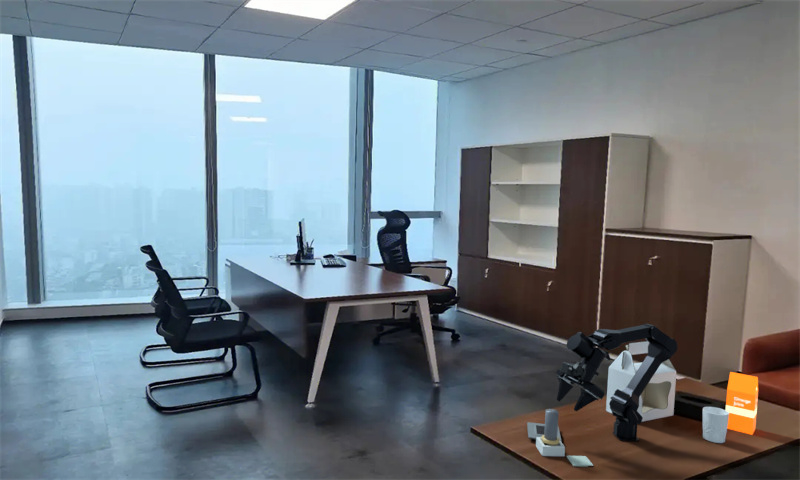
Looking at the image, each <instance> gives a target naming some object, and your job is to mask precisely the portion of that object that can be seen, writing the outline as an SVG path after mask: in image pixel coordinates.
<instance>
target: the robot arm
mask: <svg viewBox="0 0 800 480" xmlns="http://www.w3.org/2000/svg"><path fill="white" fill-rule="evenodd" d="M644 339H645V341H648V342H649V345H648V353H647V355H646V356H645V358H644V360H643V361H642V362H643V363H642V364H641V366H640V367H639V369H638V370H637V372H636V373H635V375H634V376H633V378H632V379H631V381H630V382H629V384H628V385H627V387H626V388H625V389H624V390H622V391H621V390H619V389H617V390H616V391H615V393H614V395H613V396H612V397H611V398H610V399H611V401H610V403H609V405H610V409H611V411H612V413H611V414H612V416H613V417H615V421H614V423H613V431H612V434H613V435H614V436H615V437H616V438H617V439H618V440H619V441H621V442H622V441H625V442H628V441H629V442H639V441H640V439H639V437H637V435H638V425H641V424H642V419H643V417H642V416H641V415H640V414H639V413H638V411H637V410H638V407H639V397H640V395H641V394H642V392H643V391H644V389H645V387H646V386H647V384H648V383H649V381H650V380H651V378H652V377H653V375H654V374H655V372H656V371H657V369H658V368H659V366H660V364H661V363H662V362H664V361H666V360H668V359H669V360H670V359H671V358H673V356H674V355H675V353H676V352H678V351H677V350H678V343H677V340H676V339H674V338H672V337H670V336H669V335H667V334H666V333H665V332H663V331H662V330H661V329H659V327H657V326H656V325H653V324H650V323H642V324H641V325H636V326H631V327H626V328H625V327H624V328H621V329H616V330H615V329H607V328H598V329H596V330H595V331H594V332H593V333H590V334H589V335H587V336H586V334H585V333H583V332H581V331H577V333H576V334H574V335H572V336H570V337H569V338H568V339H567V341H566V349H568V350H569V351H571V352H572V353H574V354H575V355H576V356H578V357H579V358H582V359H581V361H576V362H575V363H570V362H565V361H562V363H561V366H560V368H557V370H556V372H555V375H556V378H557V380H558V383H559V385H558V390H557V391H558V392H557V395H556V396H557V397H556V401H557V402H561V401H562V400H563V399H564V398H565V397H566V396H567V394H568V393H569V392H570V391H571V390H572V389H573V388H574V386H573V385H574V384H575V385H577V386H579V387H581V388H580V396H579V397H578V399H577V402H576V403H575V405H574V407H573V411H574V412H578V411H580V410H581V409H583V408H584V407H586V406H587V405H589V404H591V403H593V402H595V401H599V400H603V398H604V397H605V390H604V389H602V388H601V387H599V386H598V385H597V384H595V383H593V382H592V381H593V379H594V378H595V376H597V377H598V376H599V375H600V372H598V370H599V369H600V367H601V365H602V363H603V362H604V360H607V361H611V356H610V352H609V351H613V350H615V349H617V348H619V347H621V345H622V344H624V343H631V342H636V341H639V340H644Z"/></svg>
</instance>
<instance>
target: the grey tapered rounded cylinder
mask: <svg viewBox="0 0 800 480" xmlns="http://www.w3.org/2000/svg"><path fill="white" fill-rule="evenodd" d="M559 413H560V412H559V411H558V409H553V408H547V409H545V415H544V416H545V417H544V424H545V430H544V435H542V438H541V440H542V442H544V445H550V446H557V444H559V443H560V439H559V437H557V433H558V427H559Z"/></svg>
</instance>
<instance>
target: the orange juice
mask: <svg viewBox="0 0 800 480" xmlns="http://www.w3.org/2000/svg"><path fill="white" fill-rule="evenodd" d="M758 397H759V377H758V376H755V375H749V374H746V373H745V374H744V373H738V372H733V371H730V372H729V377H728V383H727V387H726V401H725V410H726V411H728V412H729V419H728V427H727V430H731V431H735V432H738V433H739V432H740V433H743V434H747V435H751V436H752V435H754V433H755V431H756V425H757V412H758V399H759V398H758Z"/></svg>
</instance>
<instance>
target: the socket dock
mask: <svg viewBox="0 0 800 480" xmlns="http://www.w3.org/2000/svg"><path fill="white" fill-rule="evenodd" d="M541 438H542V437H536V440H535V447H536V448H537V451H539V453H540V455H541V456H542V457H565V453H566V446H565V445H564V443H562V440H561V441H560V443H559V444H557V446H550V445H544V442H542V440H541Z"/></svg>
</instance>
